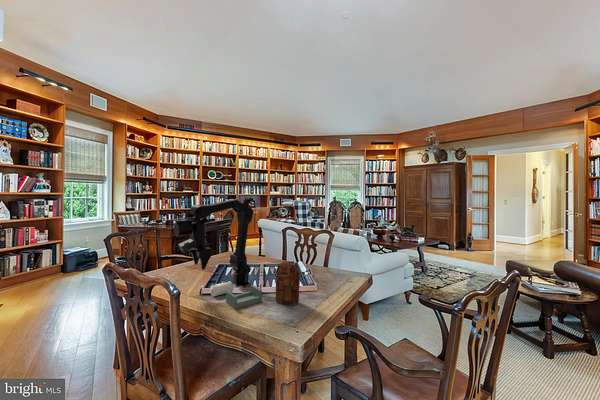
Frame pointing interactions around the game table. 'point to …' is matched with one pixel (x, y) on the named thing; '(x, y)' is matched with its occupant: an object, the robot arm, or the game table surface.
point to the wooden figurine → (287, 283)
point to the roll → (221, 288)
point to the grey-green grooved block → (244, 298)
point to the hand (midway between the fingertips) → (199, 266)
